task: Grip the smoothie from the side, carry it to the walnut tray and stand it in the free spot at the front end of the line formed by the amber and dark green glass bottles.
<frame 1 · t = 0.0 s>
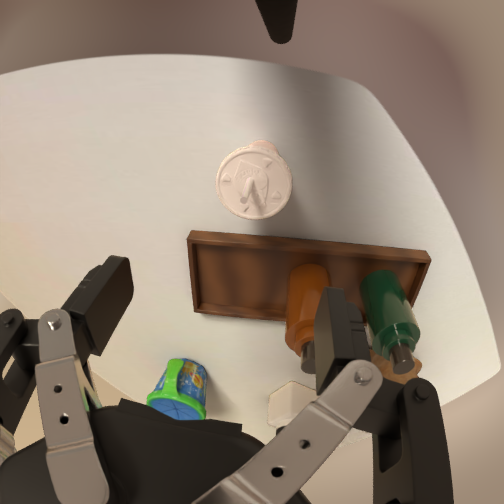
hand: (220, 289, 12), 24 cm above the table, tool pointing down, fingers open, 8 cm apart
medicine bottle: (294, 392, 57), on the table
tray: (308, 279, 41), on the table
stone cup: (386, 360, 49), on the table
snack cup: (188, 368, 56), on the table
amber bottle: (309, 282, 41), resting on tray
smoothie: (261, 155, 33), on the table
green bottle: (379, 287, 40), resting on tray
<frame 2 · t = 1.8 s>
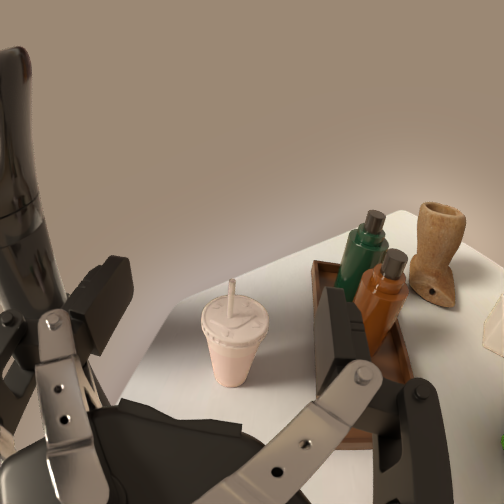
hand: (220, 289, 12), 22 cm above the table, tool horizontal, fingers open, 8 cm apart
medicine bottle: (496, 342, 39), on the table
tray: (357, 344, 39), on the table
stone cup: (424, 282, 53), on the table
amber bottle: (359, 341, 39), resting on tray
smoothie: (230, 375, 34), on the table
green bottle: (350, 293, 47), resting on tray
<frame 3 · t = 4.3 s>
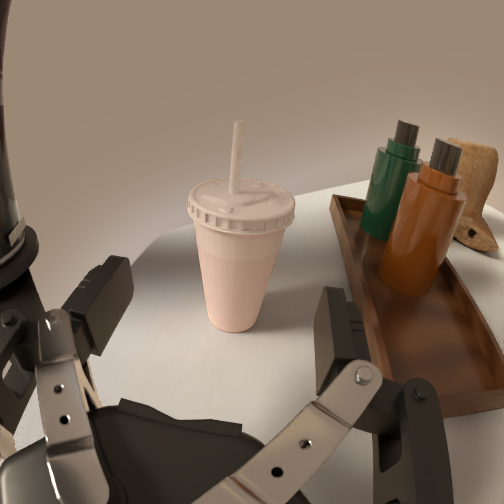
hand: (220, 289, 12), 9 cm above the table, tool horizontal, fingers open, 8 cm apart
tray: (402, 282, 29), on the table
stone cup: (457, 229, 43), on the table
amber bottle: (404, 277, 28), resting on tray
smoothie: (232, 316, 23), on the table
green bottle: (381, 230, 37), resting on tray
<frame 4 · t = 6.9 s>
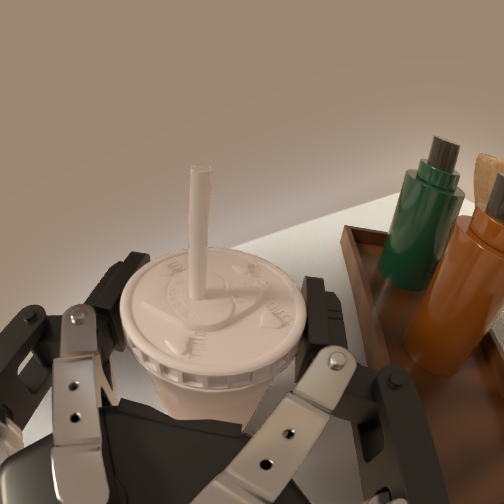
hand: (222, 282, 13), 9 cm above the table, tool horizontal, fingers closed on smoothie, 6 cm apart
tray: (431, 352, 21), on the table
stone cup: (483, 261, 35), on the table
amber bottle: (434, 347, 20), resting on tray
smoothie: (209, 424, 15), on the table, touching gripper
green bottle: (403, 273, 29), resting on tray
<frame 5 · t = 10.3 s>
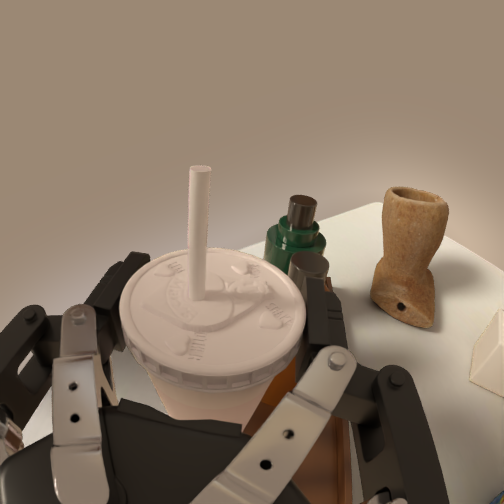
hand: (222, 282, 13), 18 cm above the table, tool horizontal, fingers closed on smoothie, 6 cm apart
medicine bottle: (489, 373, 29), on the table
tray: (277, 383, 28), on the table
stone cup: (394, 291, 42), on the table
amber bottle: (278, 380, 28), resting on tray
smoothie: (209, 425, 15), point 9 cm above the table, touching gripper
green bottle: (281, 310, 36), resting on tray
when the fingers open (9 cm above the table, at t = 13.9 s): smoothie stays where it is, resting on tray.
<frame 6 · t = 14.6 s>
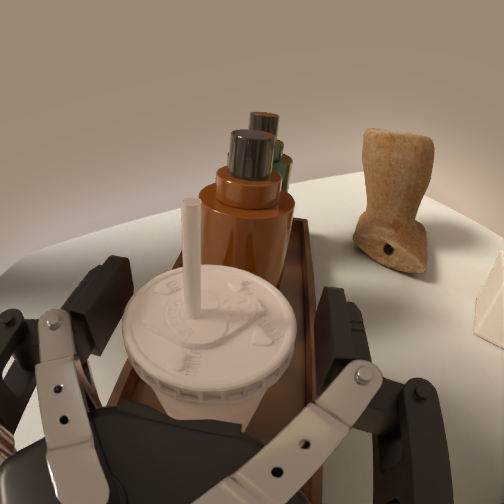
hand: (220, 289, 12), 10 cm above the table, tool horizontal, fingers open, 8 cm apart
medicine bottle: (496, 328, 25), on the table
tray: (236, 319, 25), on the table
stone cup: (382, 242, 39), on the table
amber bottle: (236, 313, 25), resting on tray
smoothie: (211, 428, 16), resting on tray
green bottle: (250, 248, 33), resting on tray
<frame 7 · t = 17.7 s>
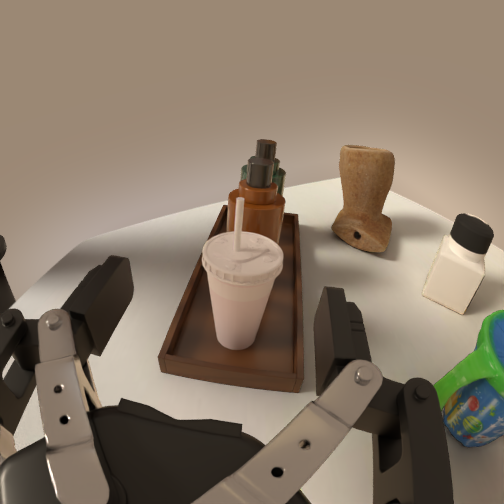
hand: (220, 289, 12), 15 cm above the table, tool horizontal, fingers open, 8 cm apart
medicine bottle: (444, 294, 38), on the table
tray: (248, 278, 38), on the table
stone cup: (356, 232, 52), on the table
snack cup: (467, 419, 21), on the table
amber bottle: (249, 274, 38), resting on tray
smoothie: (235, 336, 29), resting on tray
green bottle: (256, 234, 46), resting on tray
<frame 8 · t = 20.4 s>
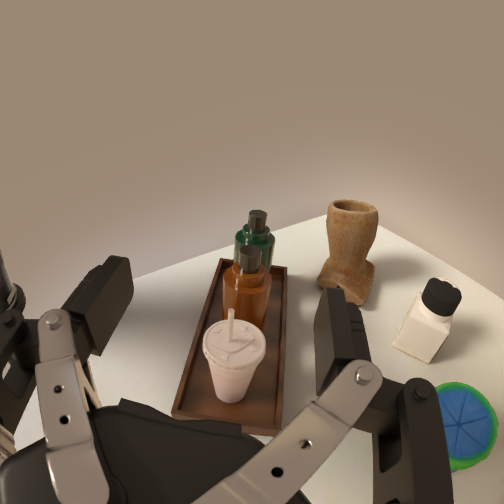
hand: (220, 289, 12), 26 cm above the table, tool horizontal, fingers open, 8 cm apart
medicine bottle: (414, 343, 45), on the table
tray: (241, 335, 44), on the table
stone cup: (340, 279, 58), on the table
snack cup: (416, 459, 27), on the table
amber bottle: (241, 332, 44), resting on tray
smoothie: (230, 391, 35), resting on tray
green bottle: (249, 288, 52), resting on tray
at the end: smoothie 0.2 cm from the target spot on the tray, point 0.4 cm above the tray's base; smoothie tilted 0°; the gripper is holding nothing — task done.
